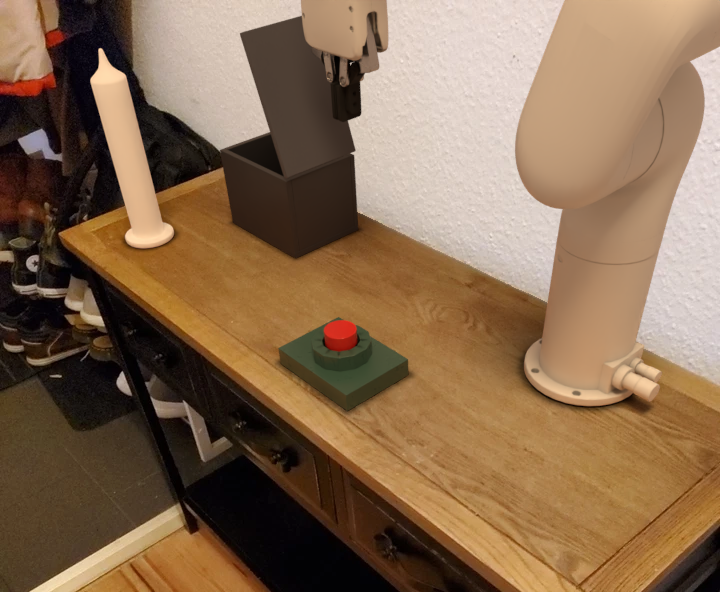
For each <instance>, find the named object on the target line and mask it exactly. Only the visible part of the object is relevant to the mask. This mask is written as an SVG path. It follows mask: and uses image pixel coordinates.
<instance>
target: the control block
mask: <svg viewBox="0 0 720 592" xmlns="http://www.w3.org/2000/svg"><path fill="white" fill-rule="evenodd" d="M338 320H344V318H342V317H340V316H338V317H336V318H333V319H332V320H330V321H328V322H326V323H323V324H322V325H320V326H318V327H316V328H314V329H312V330H310V331H308V332H306V333H305V334H302V335H301V336H299V337H297V338H295V339H292V340H291V341H288V342H287V343H285V344H283V345H282V346H279V347H278V348H277V349H278V355H279V362H280V364H281V365H282V366H283V367H285V368H286V369H287V370H289V371H290V372H291V373H294V374H295V375H296V376H297V377H299V378H300V379H301V380H302V381H305V383H307V384H308V385H310V386H311V387H313V388H314V389H315V390H317V391H318V392H319V393H321V394H323V395H324V396H325V397H326V398H328V399H329V400H331V401H332V402H333V403H335V404H336V405H338V406H339V407H341V408H342V409H344V411H346V412H348V411H350V410H352V409H354V408H356V407H357V406H359V405H360V404H362V403H364V402H365V401H367V400H369V399H371V398H372V397H374V396H375V395H377V394H379V393H381V392H383V391H384V390H386V389H388V388H389V387H391V386H392V385H394V384H397V382H400V381H401V380H403V379H404V378H406V377H408V376H409V358H408V357H405V356H404V355H403V354H400V353H399V352H398V351H396V350H394V349H392V348H391V347H389V346H388V345H386V344H384V343H382V342H381V341H379V340H378V339H376V338H375V337H373V336H371V335H370V332H369V331H368V330H366V329H365V328H363V327H362V326H361V325H358V324H355V326H356V327H357V345H356V346H355V347H354V348H352V349H350V350H346V351H339V352H338V351H332V350H330V349H328V348H327V347H326V345H325V338H324V328H325V326H326V325H327V324H329V323H331V322H333V321H338Z"/></svg>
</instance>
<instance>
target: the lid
mask: <svg viewBox="0 0 720 592" xmlns="http://www.w3.org/2000/svg"><path fill="white" fill-rule="evenodd" d="M239 36H240V39H241V43H242V45H243V49H244V52H245V56H246V58H247V63H248V65H249V68H250V72H251V76H252V78H253V82H254V84H255V89H256V92H257V94H258V98H259V101H260V104H261V108H262V111H263V115H264V117H265V121H266V123H267V127H268V131H269V132H270V133H271V137H272V140H273V143H274V146H275V149H276V153H277V156H278V159H279V162H280V166H281V169H282V172H283V175H284V178H289V177H291V176H294V175H297V174H299V173H302V172H304V171H307V170H309V169H312V168H314V167H317V166H319V165H322V164H324V163H327V162H329V161H332V160H335V159H337V158H340V157H342V156H345V155H347V154H350V153H351V154H353V153H355V152H356V147H355V146H356V145H355V143H354V138H353V135H352V131H351V126H350V123H349V120H348V121H345V122H341V121H339V120H336V119H334V118H333V113H332V98H331V83H332V82H329V81H328V80H327V77H326V70H325V66H324V64H323V62H322V60H320V59H319V58H317V57H316V56H315V55H313V54H312V52H311V46H310V45H309V44H308V43H307V42H306V40H305V36H304V30H303V23H302V15H299V16H295V17H292V18H288V19H284V20H281V21H277V22H273V23H271V24H265V25H263V26H260V27H254V28H253V29H249V30H245V31H242V32H240V33H239Z"/></svg>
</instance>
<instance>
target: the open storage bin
mask: <svg viewBox="0 0 720 592" xmlns="http://www.w3.org/2000/svg"><path fill="white" fill-rule="evenodd" d="M219 153H220V158H221V164H222V169H223V175H224V181H225V186H226V193H227V197H228V203H229V207H230V208H229V209H230V214H231V220H232V223H233V224H235V225H236V226H238V227H239V228H241V229H243V230H245V231H246V232H249V233H250V234H252V235H253V236H255V237H257V238H259V239H260V240H263V241H264V242H266V243H267V244H269V245H271V246H273V247H274V248H277V249H278V250H280V251H282V252H284V253H285V254H287V255H288V256H290V257H293V258H294V259H298V258H300V257H302V256H304V255H307V254H309V253H311V252H313V251H315V250H317V249H320V248H322V247H324V246H326V245H328V244H331V243H332V242H335V241H337V240H340V239H341V238H343V237H346V236H348V235H350V234H352V233H354V232H357V231H359V217H358V216H359V215H358V201H357V199H358V197H357V180H356V162H355V154H353V153H350V154H347V155H345V156H342V157H340V158H337V159H335V160H332V161H329V162H327V163H324V164H322V165H319V166H317V167H314V168H312V169H309V170H307V171H304V172H302V173H299V174H297V175H294V176H291V177H289V178H284V175H283V172H282V169H281V166H280V162H279V159H278V156H277V153H276V149H275V146H274V143H273V140H272V137H271V133H270V131H268V132H266V133H263V134H260V135H258V136H255V137H251V138H249V139H246V140H243V141H241V142H238V143H235V144H232V145H229V146H227V147H223V148H221V149H219Z"/></svg>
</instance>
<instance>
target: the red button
mask: <svg viewBox="0 0 720 592" xmlns="http://www.w3.org/2000/svg"><path fill="white" fill-rule="evenodd" d="M355 325H356V324H355V323H354V322H352V321H350V320H345V319H343V320H338V321H333V322H331V323H329V324H327V325H326V326H325V328H324V338H325V345H326V347H327V348H328V349H330V350H332V351H338V352H339V351H346V350H350V349H352V348H354V347H355V346H356V345H357V327H356V326H355Z"/></svg>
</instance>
